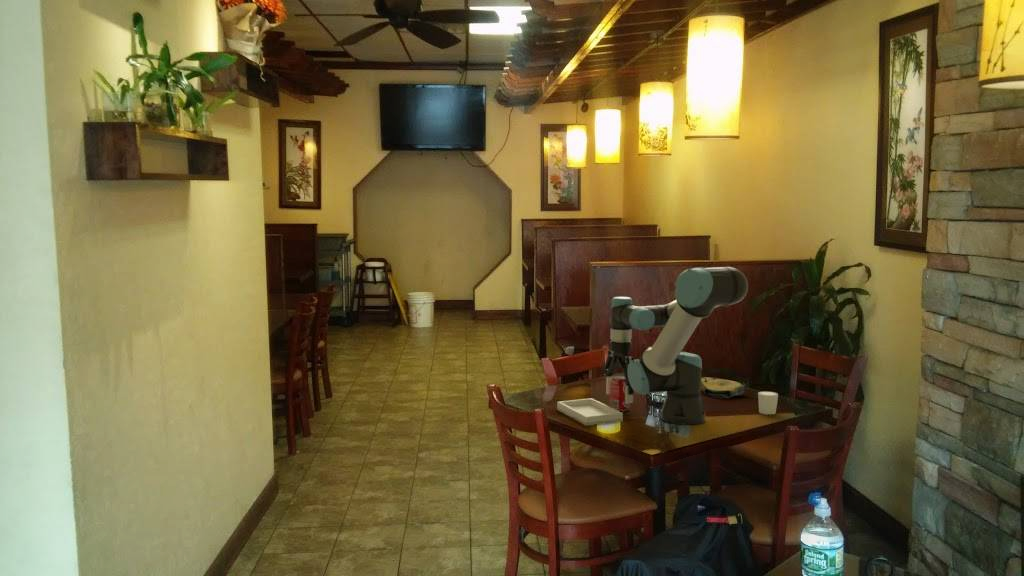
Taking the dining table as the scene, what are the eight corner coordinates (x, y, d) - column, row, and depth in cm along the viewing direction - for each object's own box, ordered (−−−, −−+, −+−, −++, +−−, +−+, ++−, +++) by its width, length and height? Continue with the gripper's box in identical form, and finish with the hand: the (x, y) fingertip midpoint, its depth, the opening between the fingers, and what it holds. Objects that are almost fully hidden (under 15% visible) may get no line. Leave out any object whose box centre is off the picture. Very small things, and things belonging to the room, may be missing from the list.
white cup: (780, 414, 293) (781, 395, 292) (761, 415, 292) (762, 395, 291) (773, 409, 299) (773, 390, 299) (754, 410, 299) (755, 391, 298)
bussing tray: (622, 421, 283) (622, 412, 283) (586, 425, 278) (586, 416, 277) (591, 406, 303) (591, 398, 303) (557, 409, 298) (557, 401, 297)
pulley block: (698, 366, 343) (753, 381, 318) (699, 380, 344) (754, 395, 319) (672, 375, 336) (727, 391, 311) (673, 389, 337) (728, 405, 312)
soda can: (629, 407, 301) (630, 375, 300) (629, 412, 295) (629, 379, 293) (610, 406, 303) (610, 374, 301) (609, 411, 296) (609, 378, 294)
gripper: (648, 346, 286) (646, 406, 289) (612, 333, 309) (611, 389, 311) (629, 347, 283) (628, 408, 286) (594, 334, 306) (593, 391, 308)
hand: (619, 398), depth 298 cm, fingers open, 13 cm apart
